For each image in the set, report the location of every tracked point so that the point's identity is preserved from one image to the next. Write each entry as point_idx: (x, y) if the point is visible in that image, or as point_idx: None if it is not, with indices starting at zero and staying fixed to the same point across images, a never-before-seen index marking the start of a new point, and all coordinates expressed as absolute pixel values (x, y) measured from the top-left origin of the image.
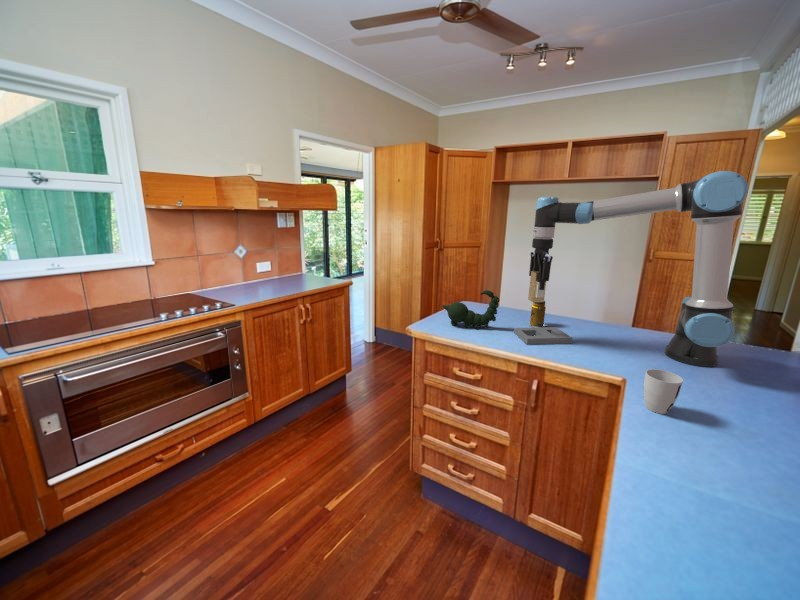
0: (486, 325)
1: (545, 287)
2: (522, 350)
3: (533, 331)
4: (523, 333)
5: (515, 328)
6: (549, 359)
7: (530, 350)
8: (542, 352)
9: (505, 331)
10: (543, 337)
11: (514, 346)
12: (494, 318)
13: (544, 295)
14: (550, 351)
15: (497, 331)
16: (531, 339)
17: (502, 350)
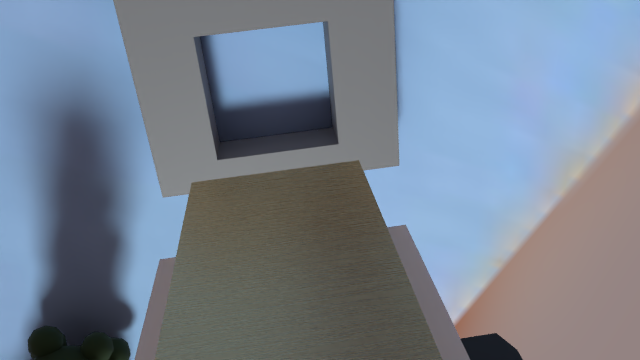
0: (127, 357)
1: (417, 304)
2: (480, 198)
3: (197, 53)
4: (290, 163)
5: (175, 191)
6: (626, 84)
7: (484, 152)
8: (523, 89)
9: (134, 222)
10: (374, 36)
11: (417, 227)
12: (104, 355)
13: (380, 212)
14: (514, 28)
15: (145, 272)
16: (397, 134)
17: (470, 297)
